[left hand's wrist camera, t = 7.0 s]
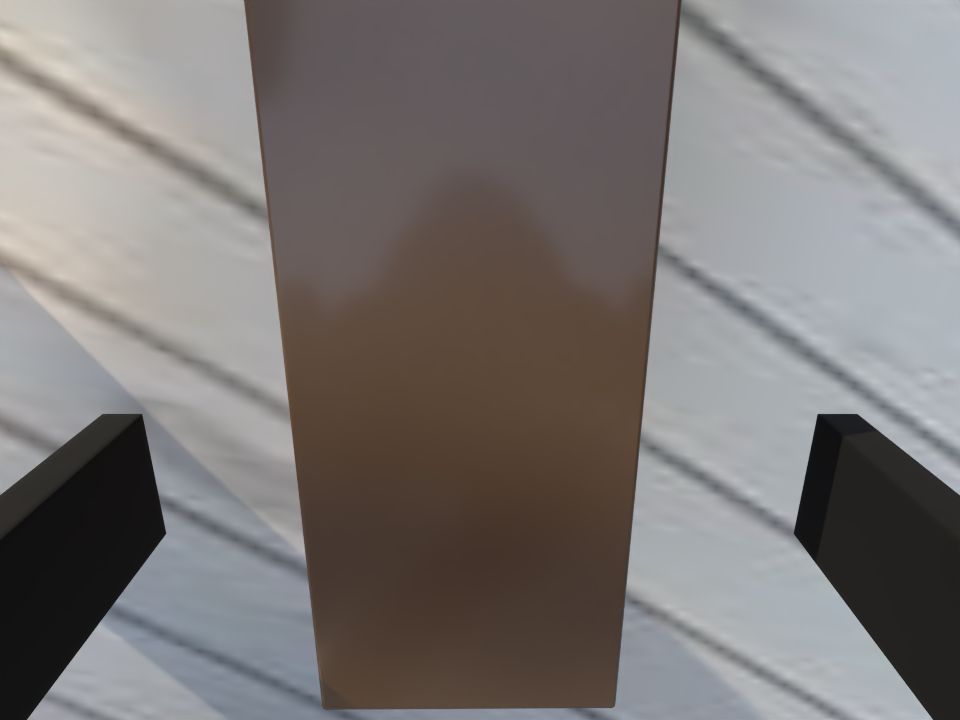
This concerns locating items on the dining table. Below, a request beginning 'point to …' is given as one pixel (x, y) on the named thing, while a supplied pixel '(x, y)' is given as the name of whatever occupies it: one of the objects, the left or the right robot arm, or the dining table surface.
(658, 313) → the dining table surface
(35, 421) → the dining table surface
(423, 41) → the bar
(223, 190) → the dining table surface
